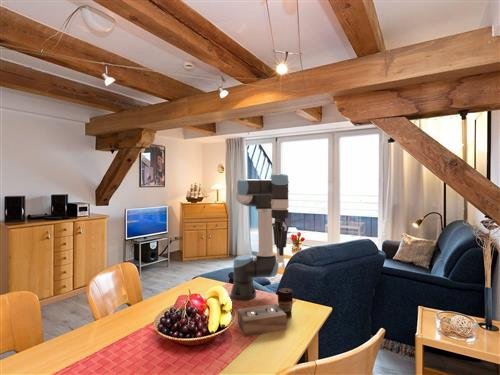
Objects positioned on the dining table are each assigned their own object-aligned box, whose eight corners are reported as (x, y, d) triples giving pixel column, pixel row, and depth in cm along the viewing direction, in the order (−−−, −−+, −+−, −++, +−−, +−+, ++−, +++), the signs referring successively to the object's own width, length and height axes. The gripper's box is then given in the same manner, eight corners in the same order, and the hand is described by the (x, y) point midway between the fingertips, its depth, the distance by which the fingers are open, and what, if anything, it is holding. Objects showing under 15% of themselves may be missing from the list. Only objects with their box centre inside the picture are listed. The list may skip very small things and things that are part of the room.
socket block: (237, 323, 133) (237, 309, 133) (276, 317, 139) (276, 303, 138) (244, 337, 121) (244, 321, 121) (286, 329, 127) (286, 314, 127)
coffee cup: (294, 319, 136) (294, 293, 136) (277, 319, 136) (277, 293, 136) (292, 311, 145) (292, 286, 145) (276, 311, 145) (276, 286, 145)
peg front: (245, 323, 130) (245, 311, 130) (254, 322, 131) (254, 310, 131) (248, 328, 126) (248, 315, 126) (256, 326, 127) (256, 313, 127)
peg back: (266, 320, 133) (265, 308, 133) (273, 319, 134) (273, 307, 134) (269, 324, 129) (269, 311, 129) (277, 323, 130) (277, 310, 130)
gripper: (266, 208, 128) (267, 259, 128) (277, 210, 115) (278, 267, 115) (281, 207, 130) (282, 258, 130) (294, 209, 118) (294, 265, 118)
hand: (280, 262), depth 123 cm, fingers closed
